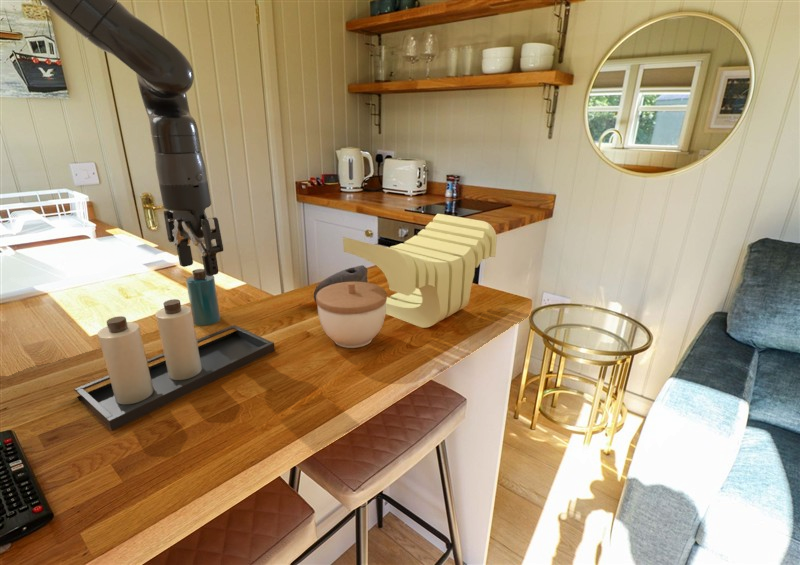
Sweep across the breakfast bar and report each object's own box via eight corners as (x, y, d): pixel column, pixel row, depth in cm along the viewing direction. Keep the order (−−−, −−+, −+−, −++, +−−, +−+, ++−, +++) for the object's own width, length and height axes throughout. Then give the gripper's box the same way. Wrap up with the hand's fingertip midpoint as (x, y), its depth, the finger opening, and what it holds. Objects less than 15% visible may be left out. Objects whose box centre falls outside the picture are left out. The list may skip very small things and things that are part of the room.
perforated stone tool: (321, 313, 89) (319, 282, 87) (307, 306, 93) (305, 276, 90) (375, 295, 99) (375, 267, 96) (361, 289, 102) (360, 262, 100)
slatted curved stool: (407, 349, 75) (409, 253, 69) (346, 323, 85) (343, 236, 79) (491, 300, 97) (498, 223, 90) (434, 283, 106) (437, 213, 100)
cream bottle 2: (162, 373, 66) (147, 303, 62) (191, 360, 70) (179, 293, 66) (178, 384, 64) (163, 311, 59) (208, 370, 67) (195, 300, 63)
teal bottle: (190, 330, 81) (179, 271, 77) (213, 321, 85) (203, 264, 81) (203, 337, 79) (193, 276, 75) (226, 327, 82) (218, 269, 78)
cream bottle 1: (109, 396, 61) (88, 321, 56) (144, 381, 64) (127, 309, 60) (124, 409, 58) (103, 331, 54) (160, 392, 62) (143, 318, 57)
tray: (77, 401, 61) (74, 388, 60) (235, 334, 80) (234, 324, 79) (112, 434, 54) (109, 421, 53) (275, 353, 74) (274, 342, 73)
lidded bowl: (392, 352, 74) (392, 294, 70) (319, 359, 72) (315, 299, 68) (381, 321, 86) (380, 270, 82) (318, 326, 83) (314, 273, 80)
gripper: (140, 179, 73) (159, 268, 79) (183, 186, 65) (201, 284, 71) (183, 175, 79) (197, 258, 84) (227, 181, 71) (240, 272, 76)
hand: (199, 270), depth 78 cm, fingers open, 8 cm apart
